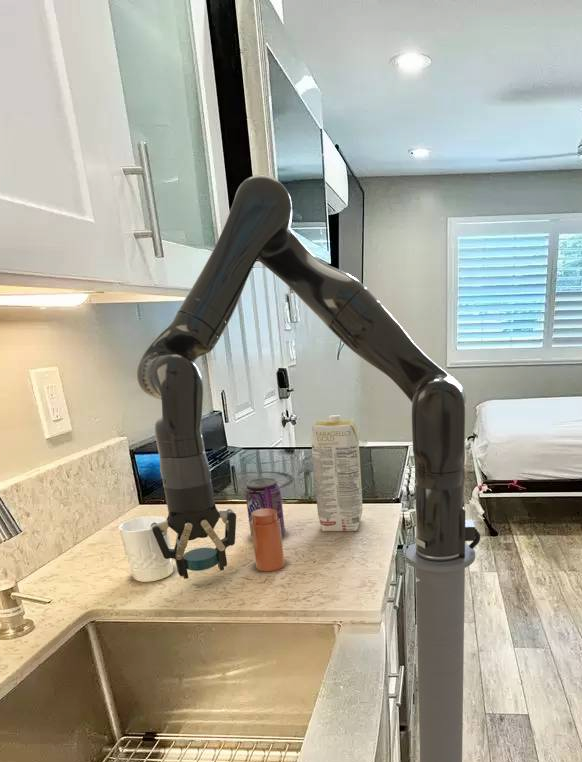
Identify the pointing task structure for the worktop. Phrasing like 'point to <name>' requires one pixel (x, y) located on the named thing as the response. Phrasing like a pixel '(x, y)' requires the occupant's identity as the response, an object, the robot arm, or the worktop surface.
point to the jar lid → (201, 559)
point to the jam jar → (267, 539)
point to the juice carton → (337, 474)
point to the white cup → (145, 549)
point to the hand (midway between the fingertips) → (203, 572)
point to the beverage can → (264, 498)
